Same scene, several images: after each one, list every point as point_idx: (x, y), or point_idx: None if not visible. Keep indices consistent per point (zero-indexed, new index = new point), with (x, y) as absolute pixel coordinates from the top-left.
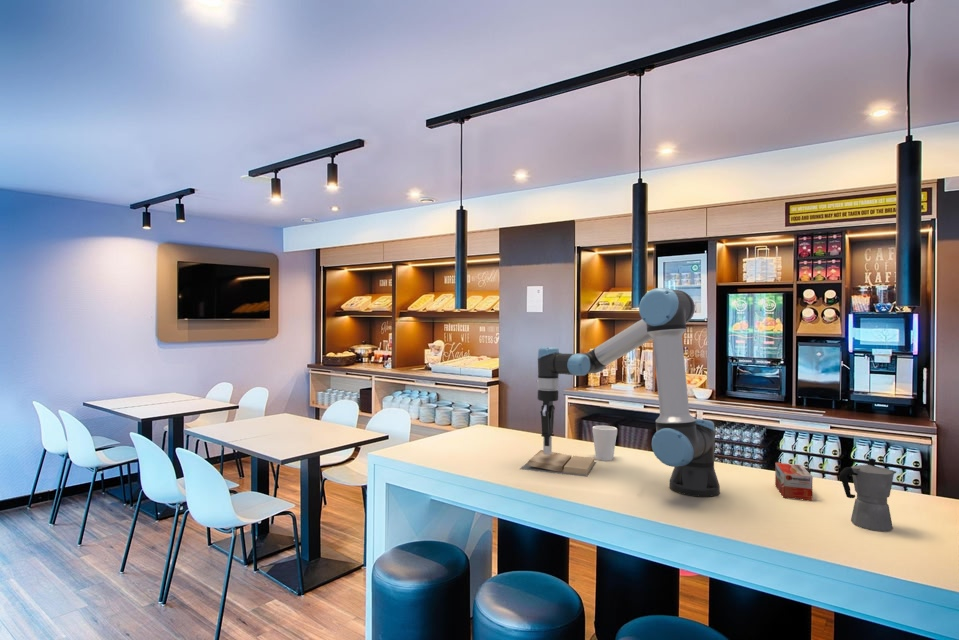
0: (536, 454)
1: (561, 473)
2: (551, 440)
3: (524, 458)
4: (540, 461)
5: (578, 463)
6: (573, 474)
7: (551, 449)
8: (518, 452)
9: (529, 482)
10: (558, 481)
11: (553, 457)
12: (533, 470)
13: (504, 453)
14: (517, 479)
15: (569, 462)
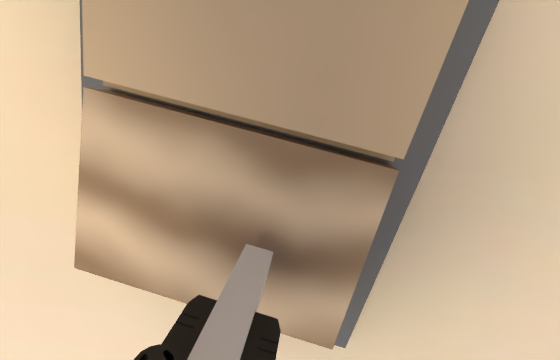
0: (189, 300)
1: (418, 166)
2: (213, 325)
3: (112, 297)
4: (333, 292)
5: (294, 45)
6: (440, 92)
7: (238, 265)
8: (29, 309)
9: (531, 317)
10: (522, 184)
11: (201, 210)
12: (363, 297)
13: (69, 355)
14: (473, 355)
15: (277, 113)
